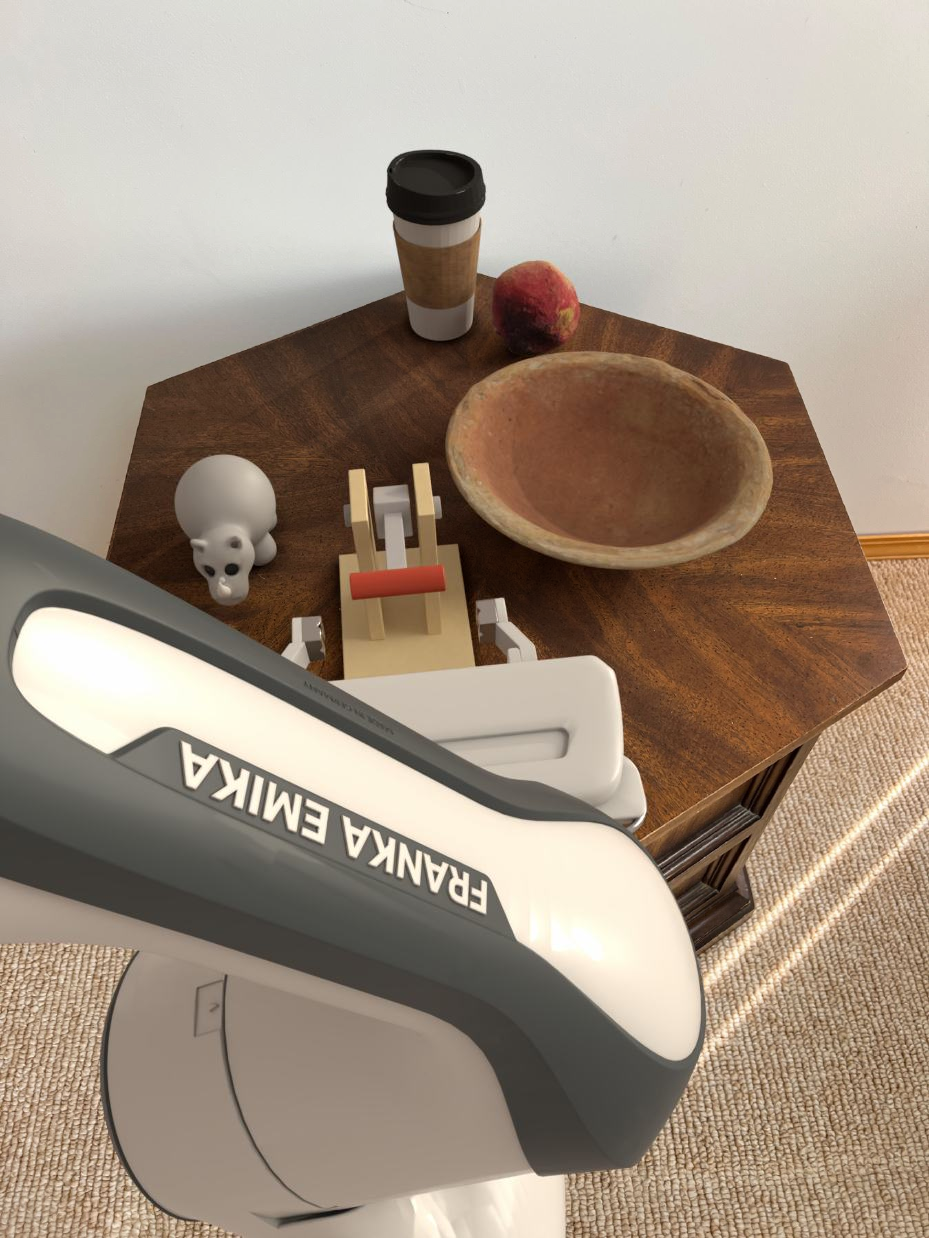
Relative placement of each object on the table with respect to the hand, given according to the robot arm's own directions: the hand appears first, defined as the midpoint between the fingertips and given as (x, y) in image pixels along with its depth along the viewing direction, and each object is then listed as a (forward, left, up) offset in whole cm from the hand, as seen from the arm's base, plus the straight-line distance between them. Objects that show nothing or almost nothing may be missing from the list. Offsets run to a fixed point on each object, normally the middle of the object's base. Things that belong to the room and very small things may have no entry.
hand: (399, 614), depth 49 cm
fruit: (+14, +41, -16) cm, 46 cm away
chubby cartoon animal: (-12, +18, -16) cm, 27 cm away
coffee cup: (+6, +46, -16) cm, 49 cm away
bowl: (+16, +20, -16) cm, 30 cm away
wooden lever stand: (0, +11, -16) cm, 20 cm away
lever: (0, +6, -3) cm, 7 cm away
